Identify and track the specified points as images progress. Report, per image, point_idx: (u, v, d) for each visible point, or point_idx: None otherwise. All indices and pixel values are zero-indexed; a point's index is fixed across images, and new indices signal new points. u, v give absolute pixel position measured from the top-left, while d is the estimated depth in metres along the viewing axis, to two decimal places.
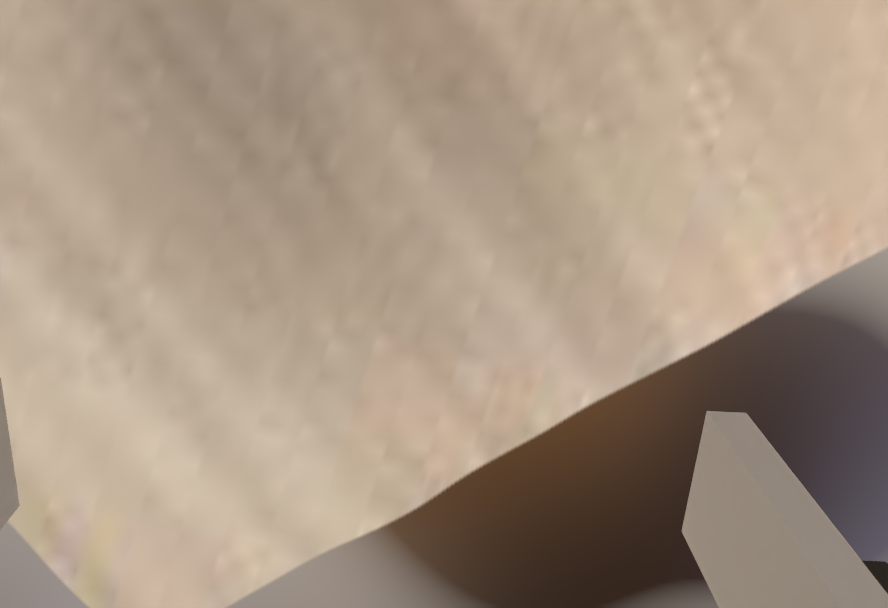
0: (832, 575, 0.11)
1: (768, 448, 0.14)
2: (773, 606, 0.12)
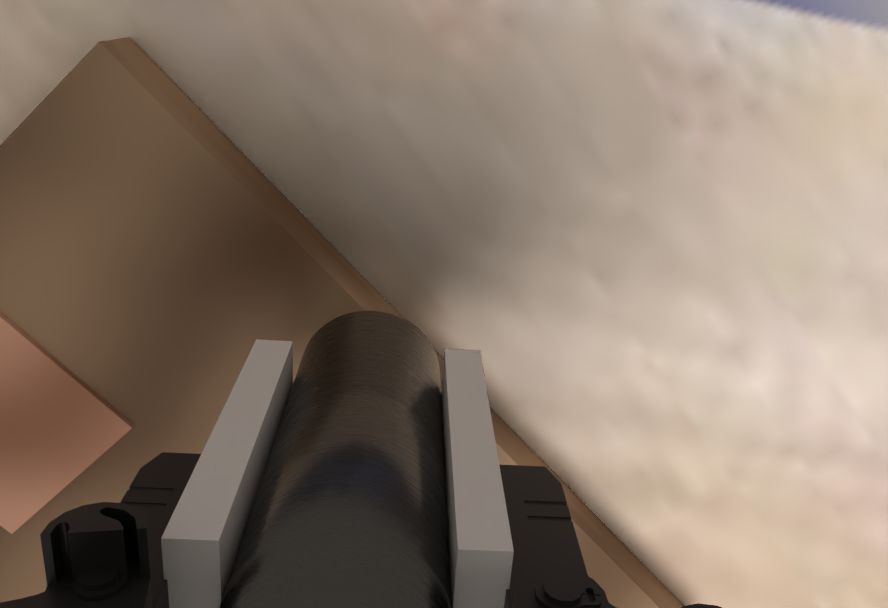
0: (463, 468, 0.12)
1: (479, 377, 0.16)
2: None
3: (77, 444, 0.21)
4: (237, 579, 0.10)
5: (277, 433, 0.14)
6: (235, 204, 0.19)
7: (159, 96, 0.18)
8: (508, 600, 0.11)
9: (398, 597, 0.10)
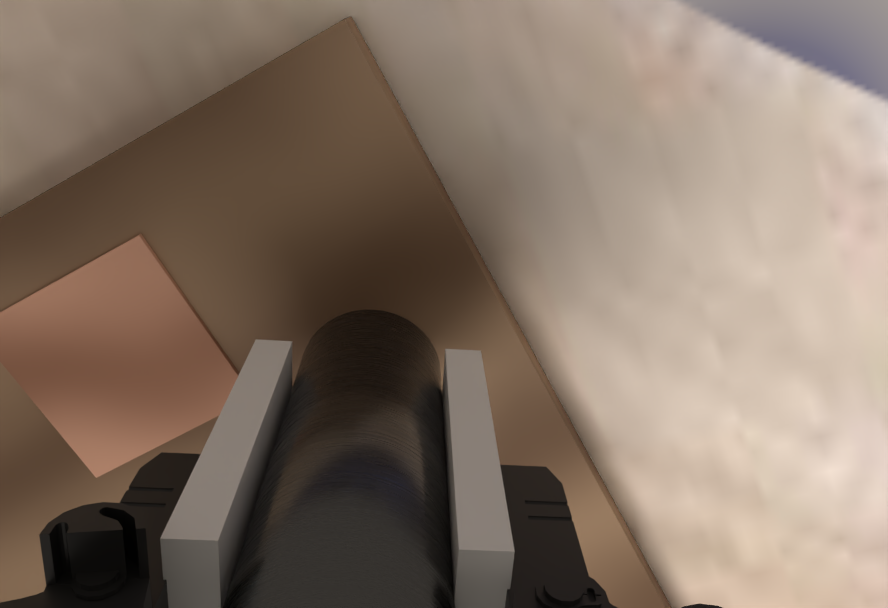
0: (464, 468, 0.12)
1: (480, 377, 0.16)
2: None
3: (193, 402, 0.21)
4: (242, 576, 0.10)
5: (279, 431, 0.14)
6: (424, 204, 0.19)
7: (381, 84, 0.18)
8: (509, 600, 0.11)
9: (405, 597, 0.10)
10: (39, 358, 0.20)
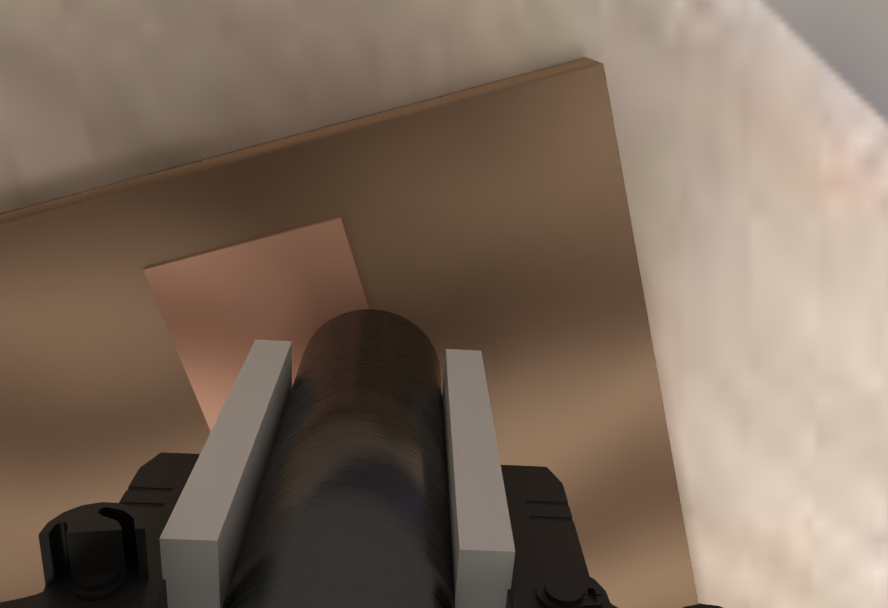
0: (464, 468, 0.12)
1: (480, 377, 0.16)
2: None
3: None
4: (243, 576, 0.10)
5: (279, 430, 0.14)
6: (617, 252, 0.20)
7: (612, 131, 0.19)
8: (509, 600, 0.11)
9: (406, 598, 0.10)
10: (199, 314, 0.20)
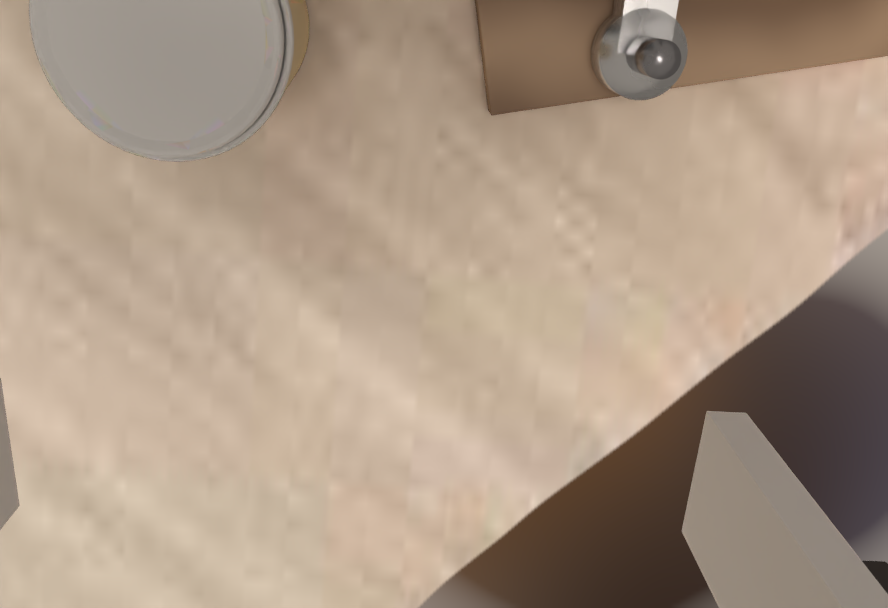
0: (832, 575, 0.11)
1: (768, 448, 0.14)
2: (773, 606, 0.12)
3: None
4: None
5: None
6: None
7: None
8: None
9: None
10: None
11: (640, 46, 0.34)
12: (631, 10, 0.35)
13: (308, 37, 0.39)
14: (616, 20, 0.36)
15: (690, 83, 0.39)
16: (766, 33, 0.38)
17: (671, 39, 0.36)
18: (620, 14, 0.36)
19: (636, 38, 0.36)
